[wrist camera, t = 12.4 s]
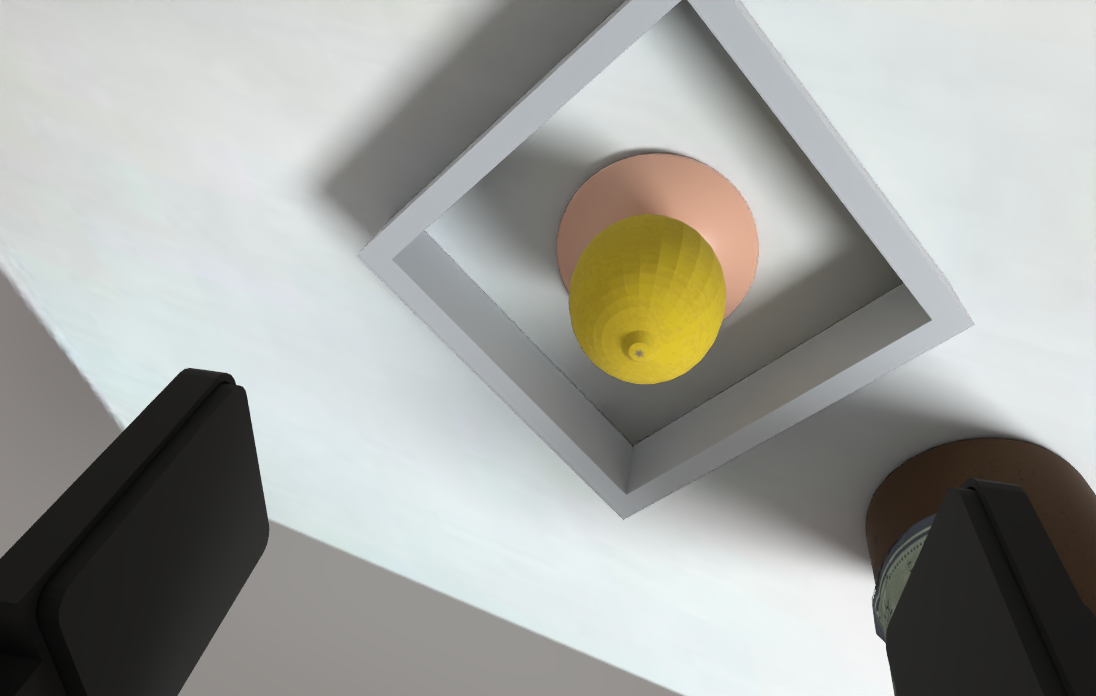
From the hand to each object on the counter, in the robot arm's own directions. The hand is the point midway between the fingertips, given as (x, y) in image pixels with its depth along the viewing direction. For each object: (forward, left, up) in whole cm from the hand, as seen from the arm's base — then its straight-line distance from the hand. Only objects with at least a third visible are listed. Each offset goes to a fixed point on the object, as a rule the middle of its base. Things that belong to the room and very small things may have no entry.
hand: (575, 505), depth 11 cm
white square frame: (+4, -4, -22) cm, 23 cm away
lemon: (+4, -4, -22) cm, 23 cm away
